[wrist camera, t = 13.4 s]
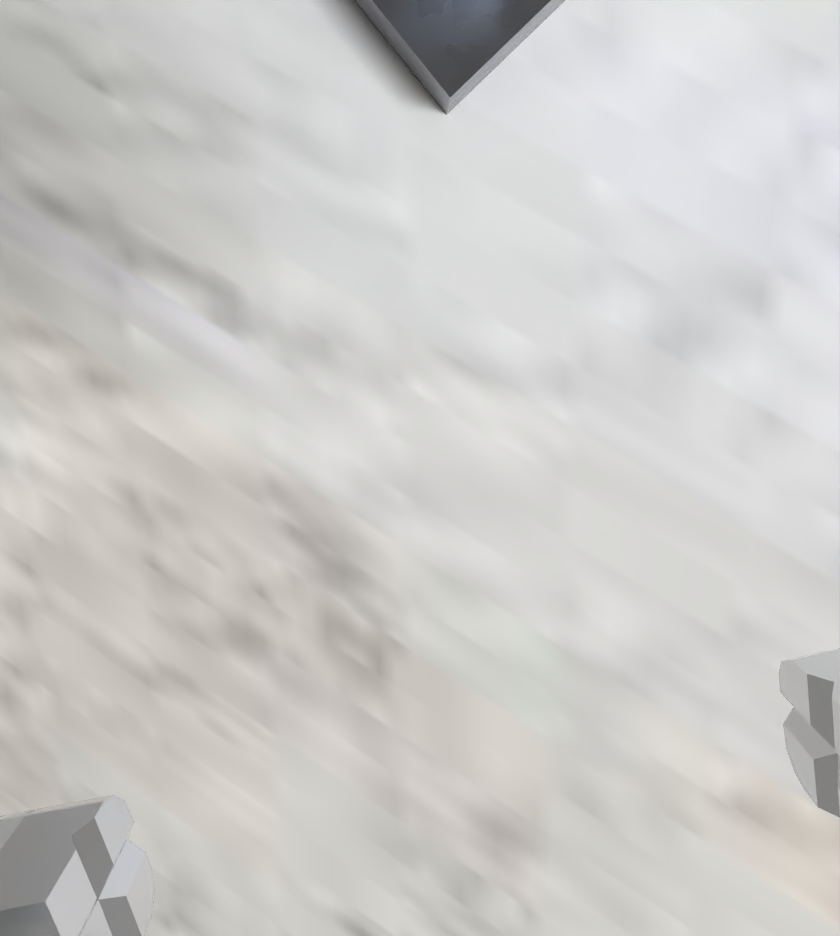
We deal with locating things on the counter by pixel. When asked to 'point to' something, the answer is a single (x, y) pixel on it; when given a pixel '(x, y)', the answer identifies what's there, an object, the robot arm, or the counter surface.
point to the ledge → (455, 38)
